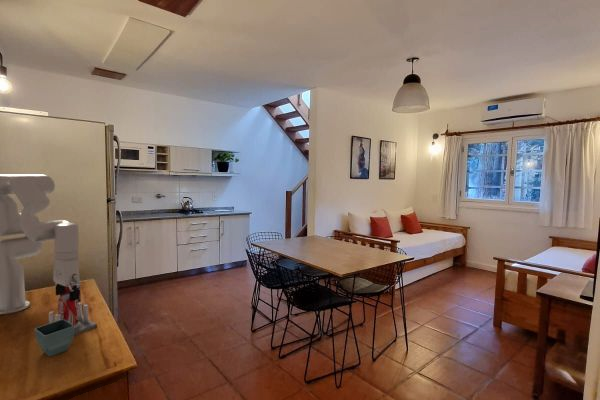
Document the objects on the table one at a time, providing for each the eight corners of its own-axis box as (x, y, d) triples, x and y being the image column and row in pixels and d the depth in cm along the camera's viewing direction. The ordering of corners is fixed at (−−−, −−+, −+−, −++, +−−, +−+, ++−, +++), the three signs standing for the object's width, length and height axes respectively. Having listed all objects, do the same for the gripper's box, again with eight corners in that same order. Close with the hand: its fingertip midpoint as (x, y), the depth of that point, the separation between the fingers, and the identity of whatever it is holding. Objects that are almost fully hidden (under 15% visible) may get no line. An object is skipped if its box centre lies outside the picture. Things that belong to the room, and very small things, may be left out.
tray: (38, 330, 124) (37, 309, 123) (74, 317, 135) (74, 298, 135) (60, 341, 116) (59, 319, 116) (97, 326, 128) (96, 306, 127)
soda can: (70, 320, 129) (69, 292, 128) (82, 322, 128) (81, 293, 127) (54, 327, 123) (53, 297, 122) (67, 330, 122) (66, 299, 120)
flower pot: (45, 362, 104) (44, 336, 103) (34, 353, 108) (33, 328, 108) (75, 350, 111) (74, 325, 110) (64, 342, 116) (63, 318, 115)
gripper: (43, 252, 123) (44, 295, 125) (68, 261, 116) (68, 306, 117) (65, 249, 130) (65, 289, 132) (89, 256, 122) (90, 299, 124)
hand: (67, 297), depth 125 cm, fingers open, 9 cm apart
